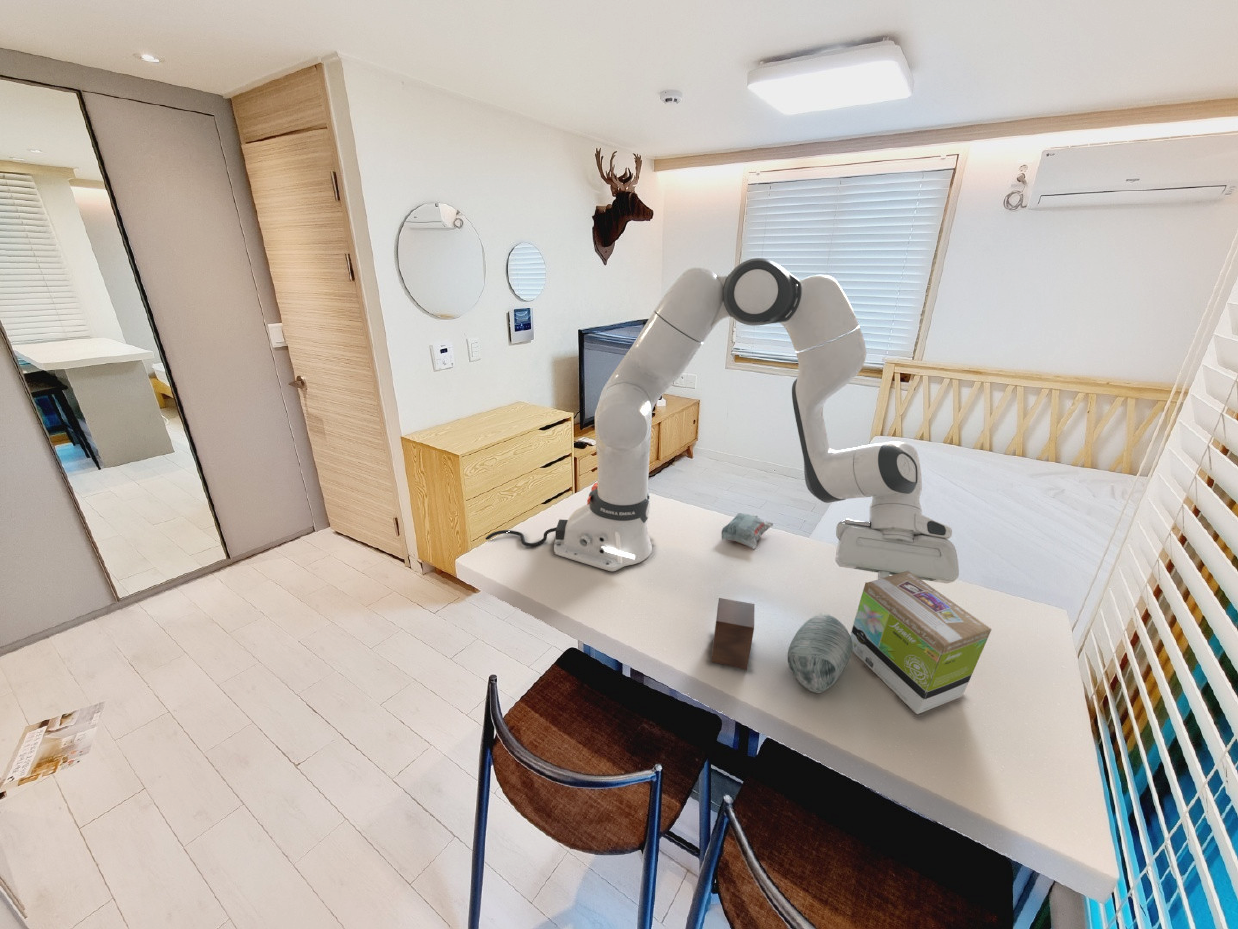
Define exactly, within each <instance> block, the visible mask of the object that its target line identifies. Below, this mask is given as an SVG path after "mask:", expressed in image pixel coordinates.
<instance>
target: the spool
mask: <svg viewBox="0 0 1238 929" xmlns="http://www.w3.org/2000/svg"><path fill="white" fill-rule="evenodd" d="M852 649H853V643H852V639H851V633H850V632H849V631H848V629H847V628H846V626H845V625H844V624H843V623H842V622H841V621H840V620H839V619H837V618H836V617H834V616H832V615H830V614H827V613H824V614H823V613H822V614H817V615H815V616H813V617H810V618H809V619H808V620H807V621H805V623H803V624H802V626H801V627H799V629H798V630H797V631H796V633H795V634H794V636H793V637H792V640H791V642H790V644H789V647H788V649H787V655H786V656H787V657H786V660H787V664H788V666H789V669H790V671H791V673H792V675H793V676H794V677H795V679H796V680H797V681H798V683H799V684H800V685H802V686H803V687H804V688H805V689H806V690H808V691H810V692H813V693H818V694H819V693H820V694H821V693H823V692H824V691H826V690H828V689H829V688H830V687H832V686H833V685H834V684H835V683H836V681H838V679H839V677H840V676H841V675H842V674H843V671H844V670H845V668H846V666H847V665H848V663H849V661H850V659H851V657H852V653H853V651H852Z"/></svg>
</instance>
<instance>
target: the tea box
mask: <svg viewBox="0 0 1238 929" xmlns="http://www.w3.org/2000/svg"><path fill="white" fill-rule="evenodd" d="M861 593H862V594H861V596H860V600H859V604H858V607H857V610H856V614H855V617H854V620H853V625H852V628H851V632H850V636H851V639H852V643H853V649H852V653H854V654H855V655H856V656H857V657H858V658H859V659H860V660H861V661H862V662H863V663H864V664H865V665H866V666H867V667H868V668H869V669H870V670H871V671H872V672H873V673H874V674H875V675H877V677H879V678H880V679H881V680H882V681H883V683H884V684H885V685H886V686H887V687H888V688H889V689H891V690H892V691H893V692H894V693H895V694H896V695H897V696H898V697H899V699H900V700H902V701H903V703H905V705H907V706H908V707H909V708H910V709H911V710H912V711H913V712H914V713H915V714H916V715H919V714H921V713H922V714H923V713H925V712H927V711H930V710H932V709H935V708H937V707H940V706H942V705H945V704H947V703H949V702H952V701H954V700H958V699H959V698H961V697H963V695H964V693H965V691H966V689H967V687H968V684H969V682H970V680H971V678H972V677H973V673H974V671H975V669H976V667H977V664H978V662H979V660H980V658H981V655H982V653H983V651H984V648H985V646H986V643H987V641H988V639H989V636H990V634H991V632H992V628H991V627H989V626H988V625H987V624H985V623H984V622H982V621H981V620H979V619H978V618H977V617H975V616H974V615H972V614H971V613H969V612H968V611H966V610H965V609H963V607H961V606H959V605H958V604H957V603H955V602H954V601H952V600H951V599H949V598H948V597H946V596H945V595H944V594H942V593H941V592H939V591H938V590H936V589H935V588H934V587H932V586H931V585H929V584H928V583H926V582H925V580H921V579H919V578H918V577H917V576H915V575H914V574H912V573H911V572H909V571H905V572H902V573H899V574H895V575H889V576H888V577H885V578H881V579H878V578H877V579H875V580H871V581H866V582H864V587H863V589H862V592H861Z"/></svg>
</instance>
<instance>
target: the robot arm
mask: <svg viewBox="0 0 1238 929" xmlns="http://www.w3.org/2000/svg"><path fill="white" fill-rule="evenodd" d="M727 318H733V319H734V320H735V321H737V322H738V323H740V324H742V325H746V326H753V327H754V326H756V327H757V326H765V325H772V324H780V325H782V326H783V327H784V329H785V330H786V332H787V333H788V336H789V338H790V342H791V343H792V346H793V349H794V352H795V354H796V358H797V364H798V371H797V372H798V375H797V377H796V379H795V380H793V382H792V386H791V399H792V407H793V412H794V418H795V423H796V428H797V433H798V437H799V443H800V447H801V448H800V449H801V452H802V458H803V472H804V481H805V485H806V488H807V490H808V491H809V493H811V494H812V496H814V497H815V498H816V499H818V500H820V501H821V502H823V503H826V504H830V503H836V502H841V501H845V500H852V499H853V500H854V499H863V498H864V499H865V498H871V503H870V506H869V517H868V518H869V521H864V520H853V519H850V518H846V519H844V520H841V521H839V522H838V523H837V525H836V526H835V527H836V528H835V535H836V538H837V539H838V541H837V543H836V544H837V545H836V549H835V555H834V559H835V560H834V561H835V563H836V564H837V566H838V567H839V568H845V569H851V570H859V571H865V572H872V573H877V580H878V579H881V578H885V577H888V576H892V575H895V574H899V573H902V572H905V571H909V572H911V573H912V574H914V575H915V576H917V577H918V578H919V579H921V580H922V581H927V582H933V583H940V584H952V583H953V582H955V581H957V579H958V578H959V577H960V566H959V558H958V552H957V549H956V546H955V545H954V543H953V542H952V541H951V540H949V539H950V538H951V537H952V535H953V530H952V527H950V526H948V525H947V524H944V523H941V522H939V521H937V520H934V519H932V518H930V517H927V516H926V515H923V509H922V506H921V502H920V501H921V500H920V499H921V494H922V491H923V482H922V481H923V480H922V479H923V478H922V468H921V462H920V457H919V454H918V451H917V449H916V448H915V447H914V446H912V445H911V444H909V443H907V442H903V441H896V440H895V441H893V440H892V441H886V442H878V443H871V444H866V445H861V446H858V447H857V446H856V447H852V448H846V449H845V448H844V449H839V450H836V449H834V448H831V446H830V444H829V440H828V433H827V429H826V423H825V418H824V406H825V403H826V402H827V401H828V399H829V398H831V397H832V396H834V395H835V394H836V393H837V392H839V391H840V390H842V389H843V388H844V387H845V386H847V385H848V384H849V383H851V382H852V381H853V379H855V378H856V377H857V376H858V374H859V373H860V372H861V371H862V369H863V367H864V364H865V362H866V359H867V346H866V342H865V337H864V335H863V332H862V330H861V327H860V323H859V321H858V318H857V315H856V313H855V311H854V309H853V306H852V305H851V303H850V301H849V298H848V296H847V295H846V293H845V292H844V290H843V288H842V287H841V285H840V284H839V282H838V281H837V279H835V278H834V277H832V276H830V275H828V274H815V275H810V276H807V277H805V278H803V279H799V278H797V277H796V276H794V275H793V274H792V273H791V272H789V271H788V270H787V269H785V268H784V267H783V266H781V265H780V264H779V263H777V262H776V261H773V260H770V259H768V258H763V257H755V258H750V259H748V260H744V261H743V262H741V263H740V264H738V265H737V266H736V267H734V268H733V270H731V272H730V273H728V274H726V275H720V274H717V273H715V272H714V271H712V270H710V269H708V268H705V267H700V266H699V267H691V268H689V269H687V270H685V271H684V272H683V273H682V274H681V275H680V276H679V277H678V278H677V279H676V280H675V282H674V283H673V284H672V285H671V286H670V287H669V289H668V290H667V291H666V293H665V294H664V295H663V297H662V298H661V299H660V301H659V302H658V304H657V306H656V307H655V308H654V310H653V312H652V314H651V315H650V316H649V318H648V320H647V321H646V322H645V324H644V326H643V328H642V329H641V330H640V333H639V334H638V336H637V337H636V338H635V340H634V342H633V344H632V345H631V346H630V348H629V350H628V351H627V352H626V354H625V355H624V356H623V358H622V359H621V360H620V362H619V363H618V365H617V367H616V368H615V369H614V371H613V373H611V376H610V377H609V378H608V380H607V382H605V385H604V386H603V388H602V390H601V392H600V396H599V400H598V402H597V405H596V408H595V412H594V435H595V436H594V437H595V451H596V462H597V468H596V472H597V473H596V475H597V478H596V479H597V482H595V483H594V484H593V485H592V487H591V491H590V492H589V493H588V498H587V499H586V502H587V503H586V504H585V505H582V506H581V507H579V508H577V509H576V510H574V512H573V513H572V514H571V515H570V516H569V517H568V519H560V518H559V519H558V522H557V525H556V527H552V528H549V529H547V530H545V531H544V533H543V537H542V539H540V540H538V541H536V542H526V541H525V536H524V534H523V533H522V532H521V531H517V530H512V529H502V530H497V531H493V532H492V533H489V534H488V535H486V537H485V538H484V540H490V539H491V538H493V537H495V536H497V535H503V534H504V535H505V534H506V535H507V534H510V535H516V536H519V537H520V542H521V545H523V546H525V547H529V548H530V547H532V548H533V547H538V546H540V545H542V544H544V543H545V542H546V541H547V539H548V535H549V534H551V533H553V532H555V533H554V534H555V540H554V543H553V551H554V552H553V553H554V554H555V555H557V556H559V557H562V558H566V559H568V560H572V561H575V562H579V563H582V564H584V565H588V566H592V567H595V568H598V569H602V570H603V571H604V570H605V571H608V572H616V571H618V570H621V569H622V568H624V567H628V566H632V565H635V564H639V563H641V562H643V561H645V560H646V559H648V558H649V557H650V556H651V554H652V552H653V545H652V541H651V537H650V532H649V523H648V522H649V521H648V519H649V517H650V509H651V508H650V507H651V506H650V505H651V503H650V502H651V500H650V492H649V475H650V474H649V473H650V458H651V457H650V456H651V440H652V422H653V410H654V407H655V405H656V404H657V402H658V401H659V399H660V398H661V397H662V396H663V395H664V394H665V393H666V391H667V390H668V389H669V388H670V387H671V386H672V385H673V384H674V382H676V381H677V380H679V378H680V377H681V375H682V374H683V373H684V371H685V370H686V368H687V367H688V366H689V364H690V363H691V361H692V359H693V358H694V357H695V355H697V353H698V351H699V349H700V348H701V347H702V346H703V344H704V342H705V340H706V339H707V338H708V336H709V335H710V333H711V332H712V331H713V329H714V328H715V327H716V325H718V324H719V323H720V322H721V321H722V320H724V319H727ZM508 531H510V532H508ZM506 532H508V533H506Z"/></svg>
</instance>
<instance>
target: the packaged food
mask: <svg viewBox="0 0 1238 929" xmlns="http://www.w3.org/2000/svg"><path fill="white" fill-rule="evenodd" d="M773 526H774V523H773V522H771V521H769V522H768V521H766V520H764V519H761V518H760V517H758V515H755V514H749V513H742V512H739V513H737V514H736V515H735V516H734V518H732V520H731V521H730V522H729V523H728V524H726V525H725V526H724V527H723V528H722V529H721V540H723V541H725V540H728V541H732V542H735V543H738V544H741V545H743V546H747V547H749V548H750V549H752V550H756V549H757V544H758V543H757V542H758V541H759V539H760V538H761V537H762V535H764V534H765V533H766V532H767V531H768V530H769V529H770V528H772V527H773Z"/></svg>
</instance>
